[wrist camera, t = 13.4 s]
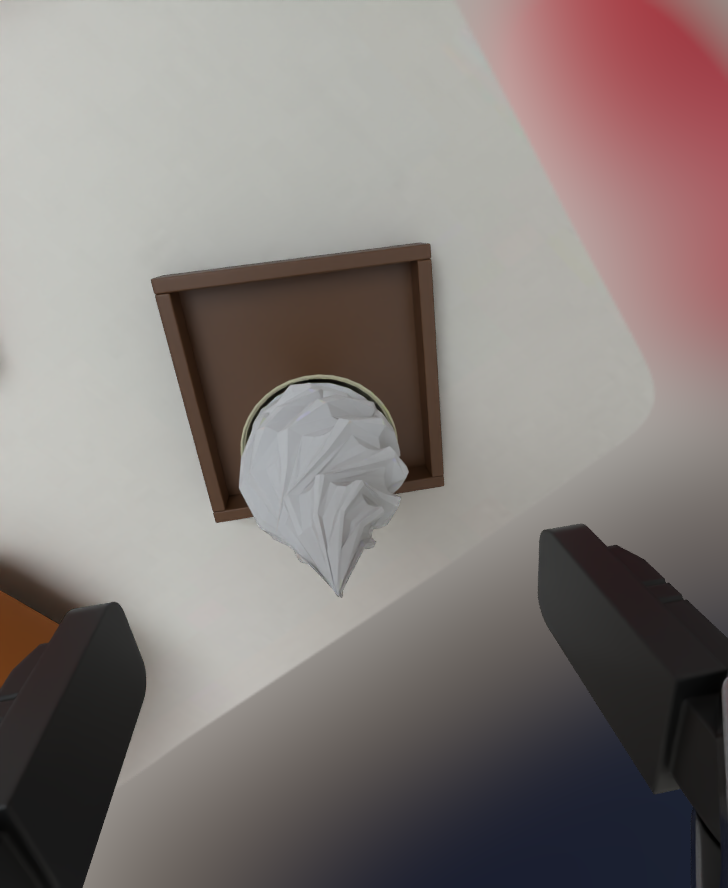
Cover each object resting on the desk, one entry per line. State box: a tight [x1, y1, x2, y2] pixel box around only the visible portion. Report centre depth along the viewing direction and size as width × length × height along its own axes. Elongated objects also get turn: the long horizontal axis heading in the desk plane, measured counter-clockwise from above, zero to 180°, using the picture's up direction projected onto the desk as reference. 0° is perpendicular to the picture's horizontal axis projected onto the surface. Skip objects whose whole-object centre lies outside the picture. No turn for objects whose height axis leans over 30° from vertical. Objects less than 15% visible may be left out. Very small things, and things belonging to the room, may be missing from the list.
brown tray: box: [151, 243, 444, 523], centre depth 23 cm, size 11×11×2 cm
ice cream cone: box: [239, 375, 409, 598], centre depth 17 cm, size 5×5×15 cm
